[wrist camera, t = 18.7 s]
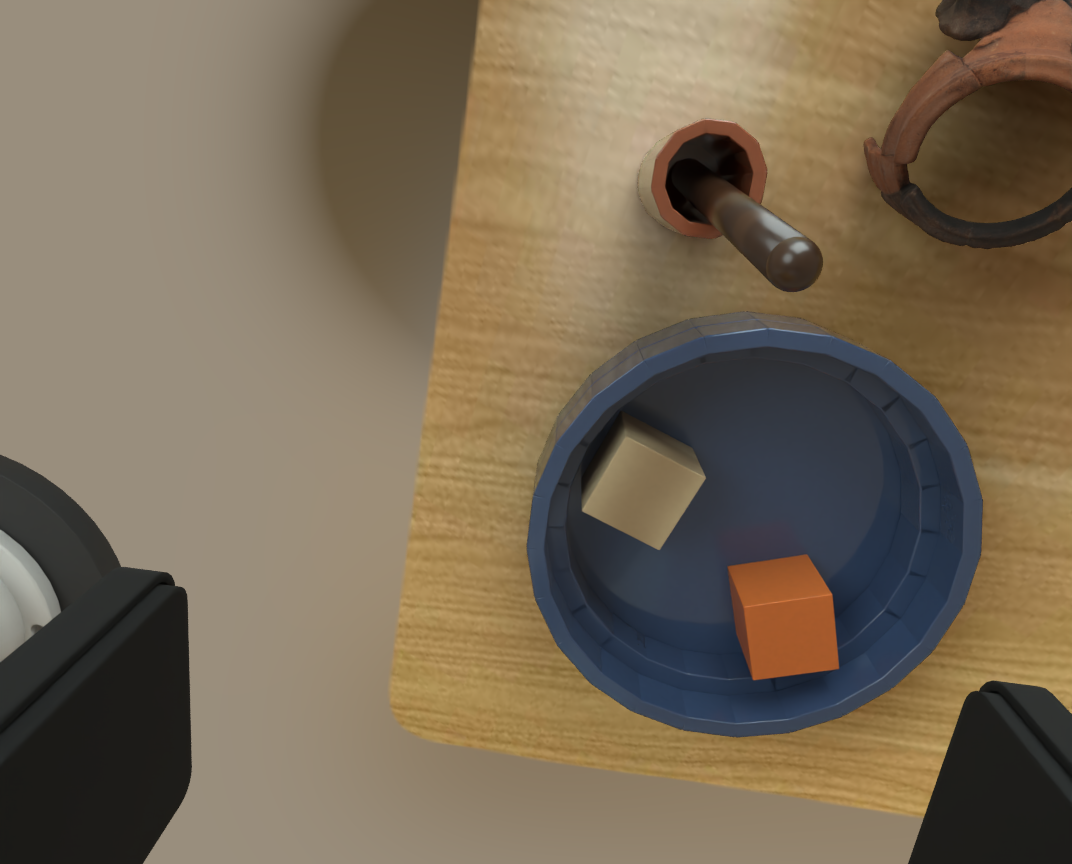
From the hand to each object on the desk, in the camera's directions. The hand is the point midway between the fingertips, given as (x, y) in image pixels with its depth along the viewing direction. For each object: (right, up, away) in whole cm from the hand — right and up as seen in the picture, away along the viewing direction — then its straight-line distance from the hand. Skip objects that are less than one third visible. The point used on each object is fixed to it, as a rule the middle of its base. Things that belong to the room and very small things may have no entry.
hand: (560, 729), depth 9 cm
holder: (+6, +15, +25) cm, 29 cm away
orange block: (+12, -5, +30) cm, 32 cm away
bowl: (+9, 0, +29) cm, 31 cm away
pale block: (+5, +2, +28) cm, 29 cm away
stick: (+6, +15, +24) cm, 29 cm away
